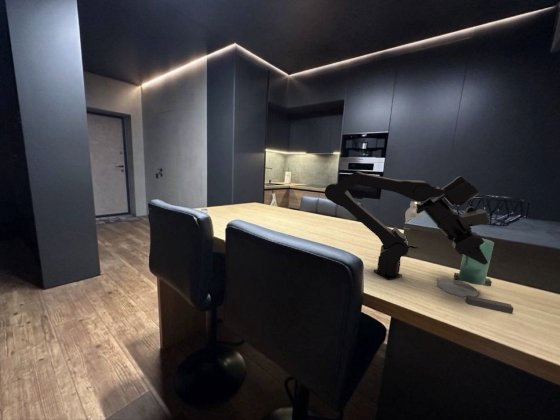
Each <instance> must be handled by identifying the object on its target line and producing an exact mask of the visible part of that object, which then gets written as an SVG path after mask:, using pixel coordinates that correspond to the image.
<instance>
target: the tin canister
mask: <svg viewBox="0 0 560 420" xmlns="http://www.w3.org/2000/svg"><path fill="white" fill-rule="evenodd" d="M481 238H482V237H481ZM482 239H483V240H484V241H485V242H484V243H483V244H481V245H480V249H481V251H482V253H483V254H484V256H485V258H486V260H487V262H488V263H487V264H485V265H484V264H482V263H480V262H478V261H476V260H474V259H472V258H470V257H468V256H466V255H464V254H462V257H461V263H460V267H459V278H460V279H461V280H463V281H462V282H465V283H467V284H470V285H471V284H472V285H475V286H476V285H477V286H485V285H484V284H485V280H486V278H487V275H488V271H489V267H490V264H491V263H490V261H491V259H492V254H493V251H494V245H495V242H494V241H493V240H490V239H487V238H482ZM461 280H460V281H461Z"/></svg>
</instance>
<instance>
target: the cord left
mask: <svg viewBox="0 0 560 420" xmlns="http://www.w3.org/2000/svg"><path fill="white" fill-rule="evenodd" d="M453 279H457V280H459V281H461V279H460V278H459V273H458V272H454V275H453ZM462 282H464V281H463V280H462ZM492 284H493V283H492V280H491V279H490V278H487V277H486V280H485V284H484V285H483V286H487V287H488V286H489V287H491V286H492Z"/></svg>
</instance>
